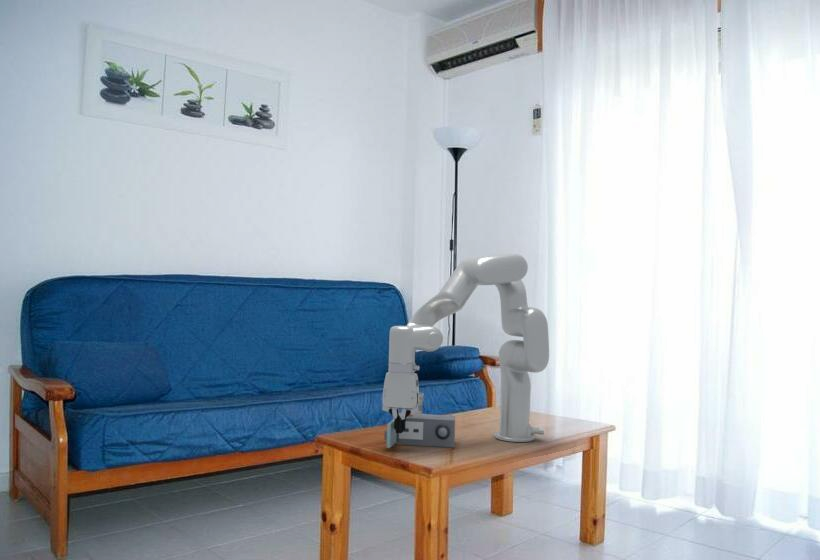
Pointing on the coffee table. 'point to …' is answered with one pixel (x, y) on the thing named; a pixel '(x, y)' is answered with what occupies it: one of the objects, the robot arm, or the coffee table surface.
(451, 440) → the housing
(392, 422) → the side door
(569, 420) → the coffee table surface
